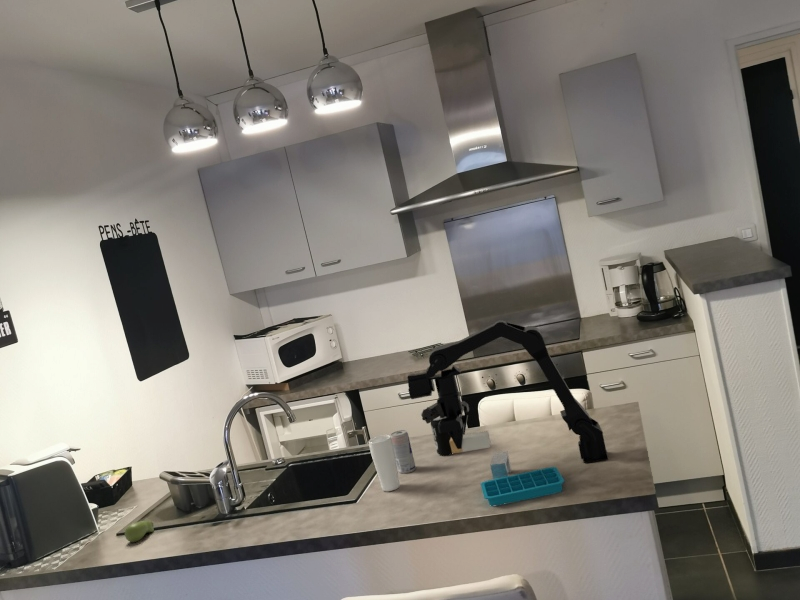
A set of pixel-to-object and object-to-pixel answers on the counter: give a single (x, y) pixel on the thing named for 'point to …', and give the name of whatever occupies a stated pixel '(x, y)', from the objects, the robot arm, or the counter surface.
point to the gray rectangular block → (500, 465)
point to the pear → (138, 530)
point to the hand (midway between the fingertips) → (460, 445)
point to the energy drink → (403, 451)
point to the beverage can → (441, 438)
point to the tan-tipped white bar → (472, 442)
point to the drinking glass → (385, 461)
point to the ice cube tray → (522, 486)
